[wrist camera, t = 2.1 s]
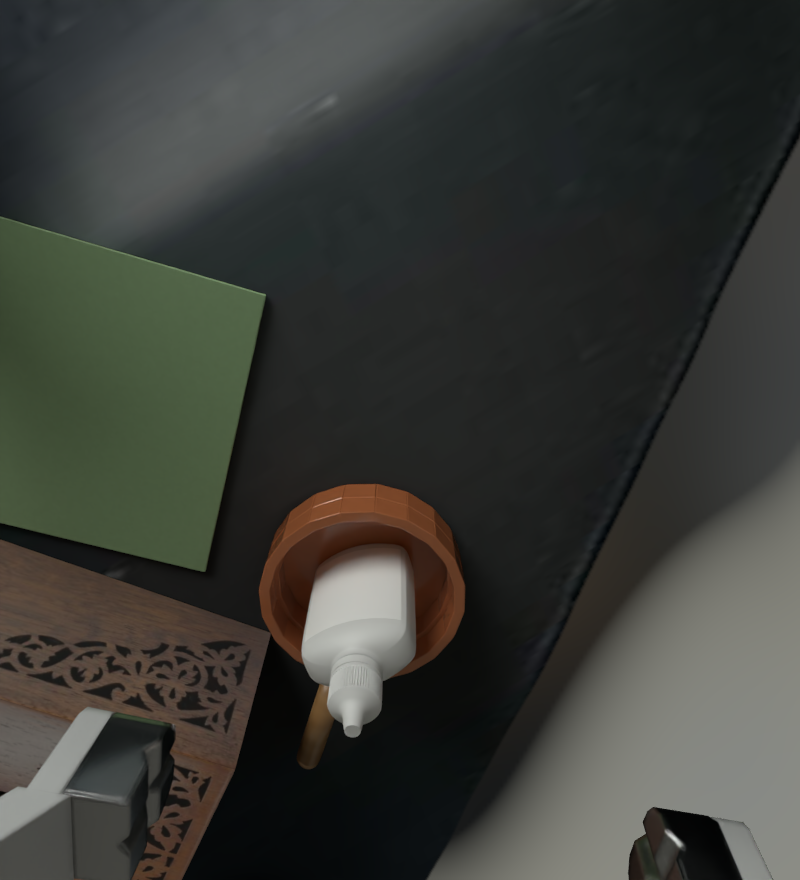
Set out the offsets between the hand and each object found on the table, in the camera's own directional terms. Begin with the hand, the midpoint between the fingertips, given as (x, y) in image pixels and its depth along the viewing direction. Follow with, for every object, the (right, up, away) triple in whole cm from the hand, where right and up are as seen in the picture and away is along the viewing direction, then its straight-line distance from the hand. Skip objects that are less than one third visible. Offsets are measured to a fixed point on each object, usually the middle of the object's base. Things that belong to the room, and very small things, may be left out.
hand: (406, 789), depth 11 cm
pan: (-2, -2, +28) cm, 28 cm away
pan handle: (-5, -11, +29) cm, 32 cm away
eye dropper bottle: (-2, -2, +28) cm, 28 cm away
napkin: (-19, +8, +24) cm, 31 cm away
